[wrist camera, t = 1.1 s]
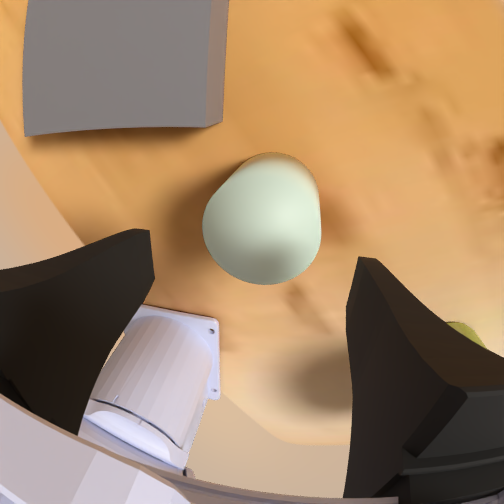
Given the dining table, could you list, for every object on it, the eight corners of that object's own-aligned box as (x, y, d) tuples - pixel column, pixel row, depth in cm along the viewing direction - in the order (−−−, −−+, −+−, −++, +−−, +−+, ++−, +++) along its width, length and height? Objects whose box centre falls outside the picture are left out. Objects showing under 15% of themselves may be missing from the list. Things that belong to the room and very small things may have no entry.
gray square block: (222, 121, 16) (205, 127, 14) (54, 127, 18) (24, 136, 15) (234, -70, 11) (220, -93, 8) (63, -29, 12) (35, -36, 9)
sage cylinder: (313, 242, 19) (311, 291, 14) (228, 232, 19) (203, 276, 15) (324, 158, 16) (329, 182, 12) (230, 148, 17) (201, 169, 13)
